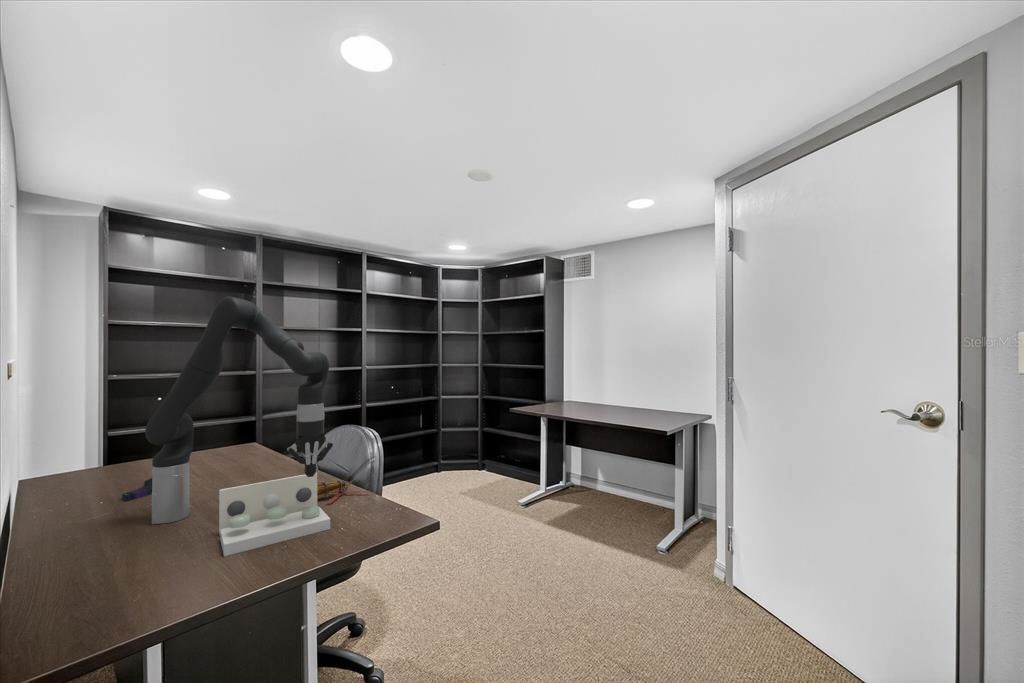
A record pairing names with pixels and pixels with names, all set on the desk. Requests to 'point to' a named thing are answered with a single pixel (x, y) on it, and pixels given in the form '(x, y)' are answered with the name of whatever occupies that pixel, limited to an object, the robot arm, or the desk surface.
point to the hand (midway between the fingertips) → (310, 476)
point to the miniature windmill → (334, 489)
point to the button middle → (276, 512)
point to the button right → (310, 512)
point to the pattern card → (267, 498)
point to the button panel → (271, 532)
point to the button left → (239, 521)
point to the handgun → (139, 491)
